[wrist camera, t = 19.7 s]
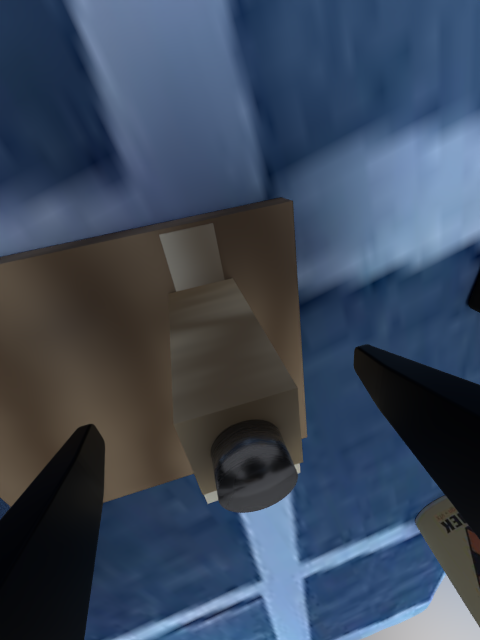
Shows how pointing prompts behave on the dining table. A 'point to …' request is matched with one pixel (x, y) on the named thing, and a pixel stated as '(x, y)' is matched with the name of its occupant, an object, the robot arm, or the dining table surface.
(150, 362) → the board
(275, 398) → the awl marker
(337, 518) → the dining table surface
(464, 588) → the coffee cup
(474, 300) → the battery
